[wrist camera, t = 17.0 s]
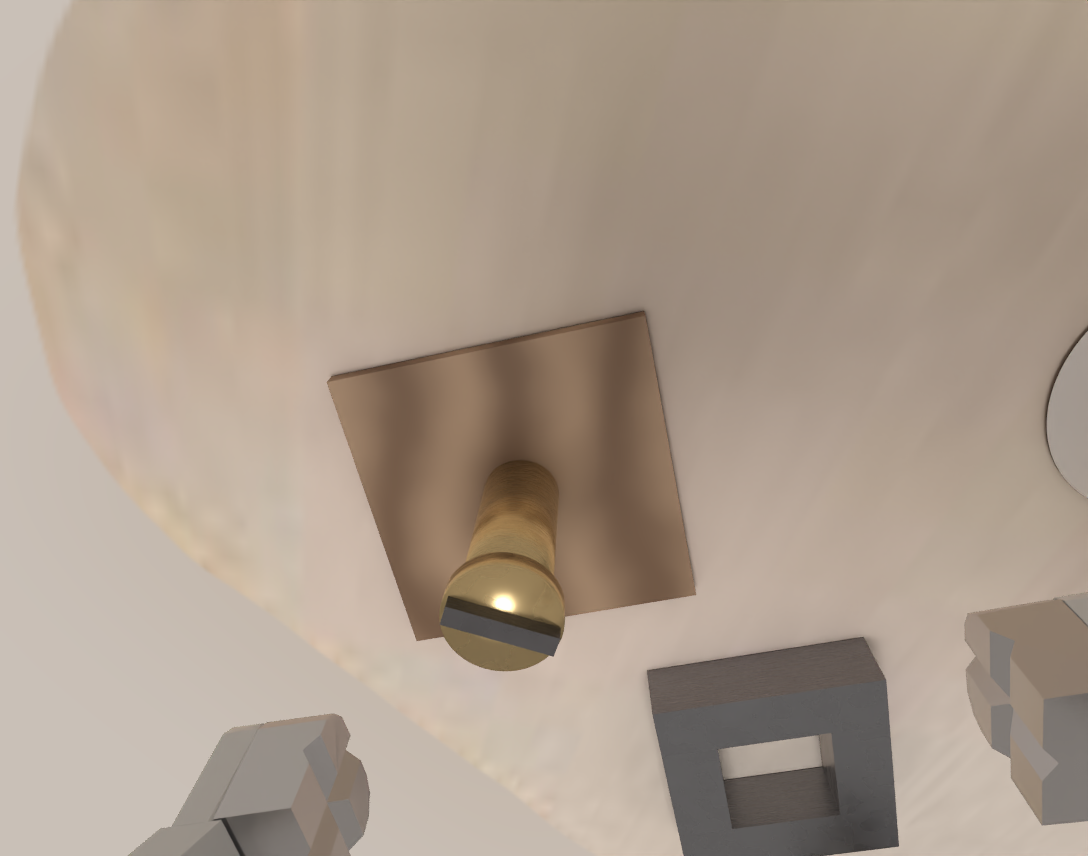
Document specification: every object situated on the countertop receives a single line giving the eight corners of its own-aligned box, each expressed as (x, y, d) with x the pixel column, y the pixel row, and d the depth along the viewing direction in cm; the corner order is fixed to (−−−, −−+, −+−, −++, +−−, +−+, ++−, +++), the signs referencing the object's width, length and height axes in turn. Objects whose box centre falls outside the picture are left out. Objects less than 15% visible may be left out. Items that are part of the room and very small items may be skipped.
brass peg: (488, 438, 45) (454, 561, 33) (581, 466, 46) (580, 598, 34) (463, 520, 47) (422, 663, 35) (552, 546, 48) (542, 696, 36)
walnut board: (644, 311, 43) (645, 315, 42) (693, 585, 50) (695, 594, 49) (331, 376, 45) (326, 382, 44) (419, 631, 52) (416, 641, 51)
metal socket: (863, 637, 51) (886, 679, 47) (877, 796, 56) (898, 846, 52) (647, 670, 52) (652, 714, 49) (680, 822, 57) (687, 872, 54)
